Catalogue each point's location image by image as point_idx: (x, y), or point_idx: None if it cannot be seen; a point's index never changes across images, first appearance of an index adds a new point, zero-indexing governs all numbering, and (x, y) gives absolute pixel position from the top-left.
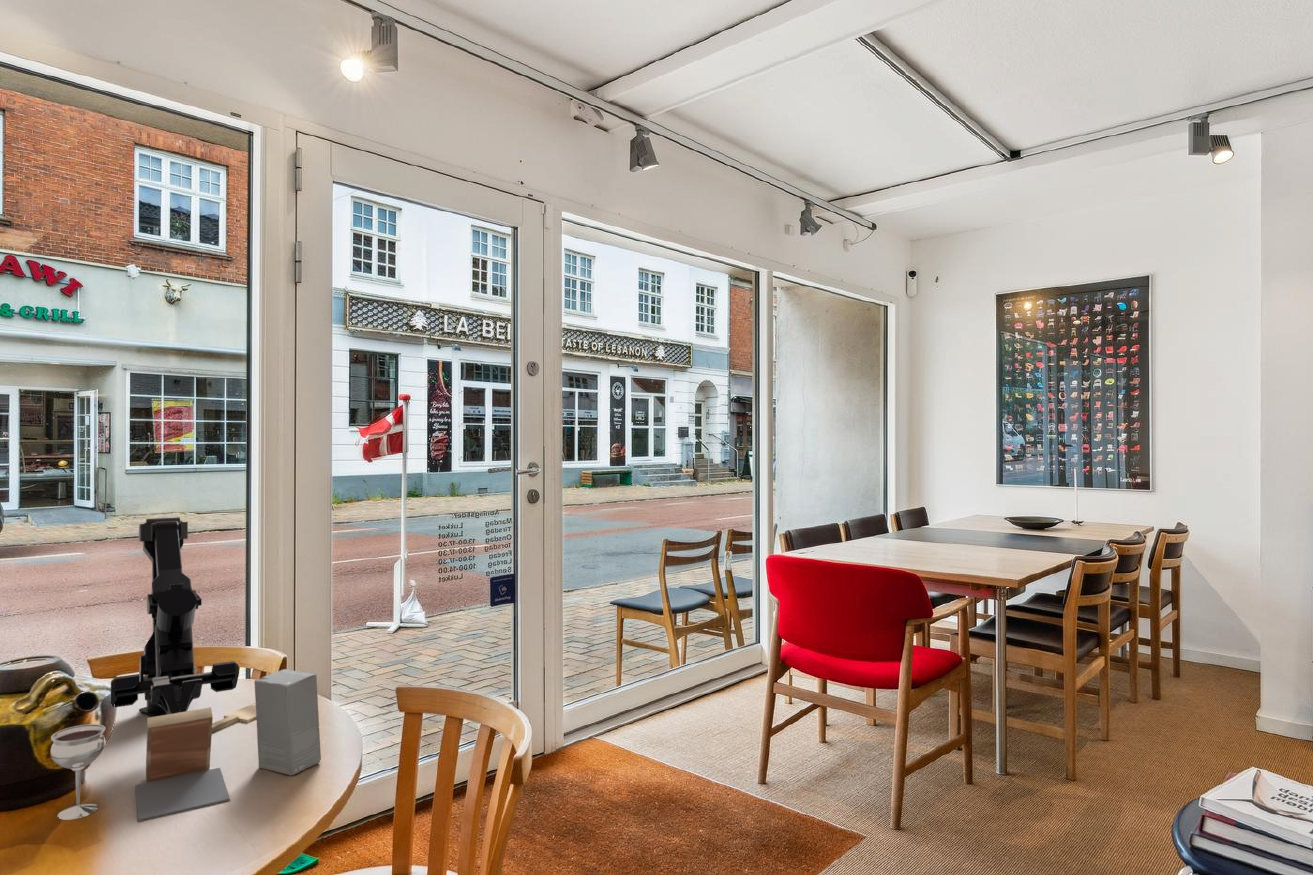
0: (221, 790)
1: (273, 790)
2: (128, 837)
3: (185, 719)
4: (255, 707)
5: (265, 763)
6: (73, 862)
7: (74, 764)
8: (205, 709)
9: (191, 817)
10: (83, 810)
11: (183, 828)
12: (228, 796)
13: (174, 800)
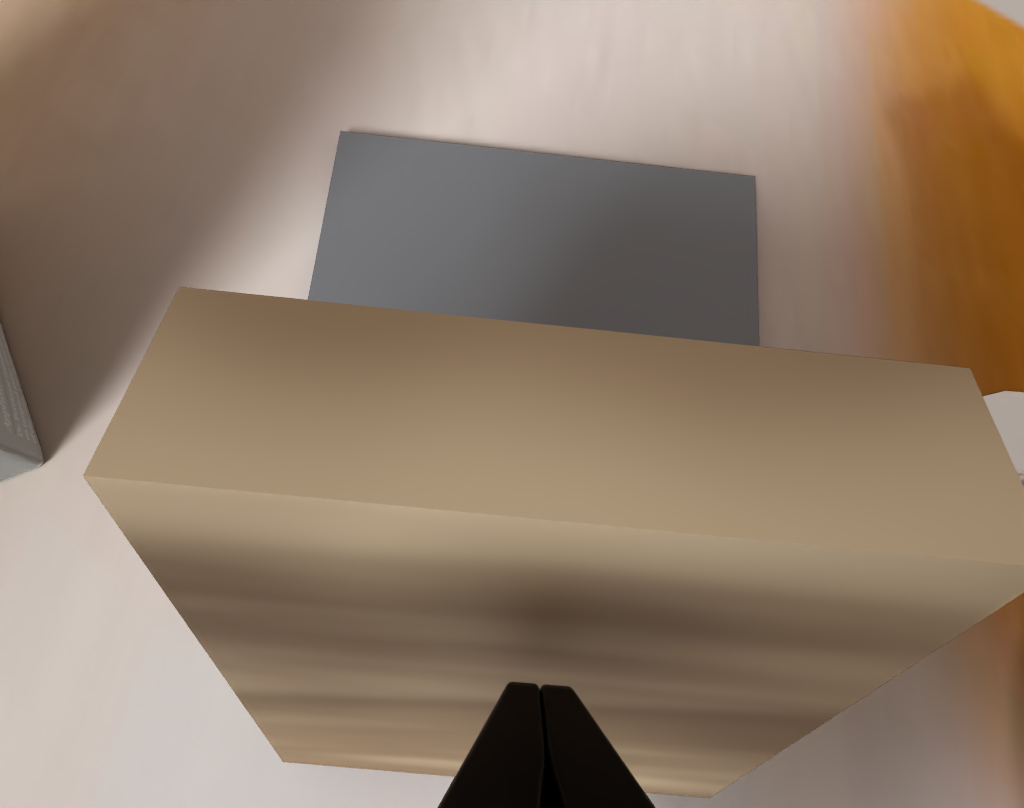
0: (347, 247)
1: (124, 118)
2: (788, 70)
3: (520, 356)
4: None
5: (4, 376)
6: (968, 6)
7: None
8: (190, 458)
9: (534, 85)
10: (1015, 433)
11: (580, 14)
12: (338, 158)
13: (583, 276)
